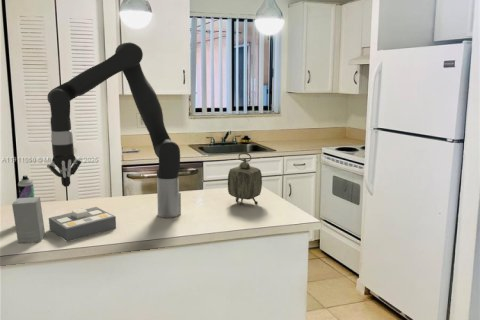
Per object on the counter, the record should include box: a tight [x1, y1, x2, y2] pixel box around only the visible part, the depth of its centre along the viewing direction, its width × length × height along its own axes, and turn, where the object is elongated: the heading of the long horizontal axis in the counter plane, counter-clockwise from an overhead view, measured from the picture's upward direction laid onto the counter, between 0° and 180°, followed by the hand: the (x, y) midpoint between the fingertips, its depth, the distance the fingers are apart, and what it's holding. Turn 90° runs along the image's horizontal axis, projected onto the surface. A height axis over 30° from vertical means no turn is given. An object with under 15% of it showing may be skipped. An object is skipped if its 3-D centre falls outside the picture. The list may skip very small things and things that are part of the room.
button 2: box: [88, 210, 103, 215], centre depth 180 cm, size 4×4×3 cm
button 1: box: [56, 217, 71, 223], centre depth 171 cm, size 4×4×3 cm
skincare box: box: [11, 196, 46, 244], centre depth 162 cm, size 8×7×16 cm
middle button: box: [71, 208, 88, 219], centre depth 175 cm, size 4×4×3 cm
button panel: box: [48, 206, 117, 242], centre depth 174 cm, size 20×16×5 cm
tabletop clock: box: [227, 152, 263, 206], centre depth 206 cm, size 14×9×25 cm, turn 58°
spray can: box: [17, 175, 35, 198], centre depth 178 cm, size 6×6×20 cm
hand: (66, 186), depth 170 cm, fingers closed
